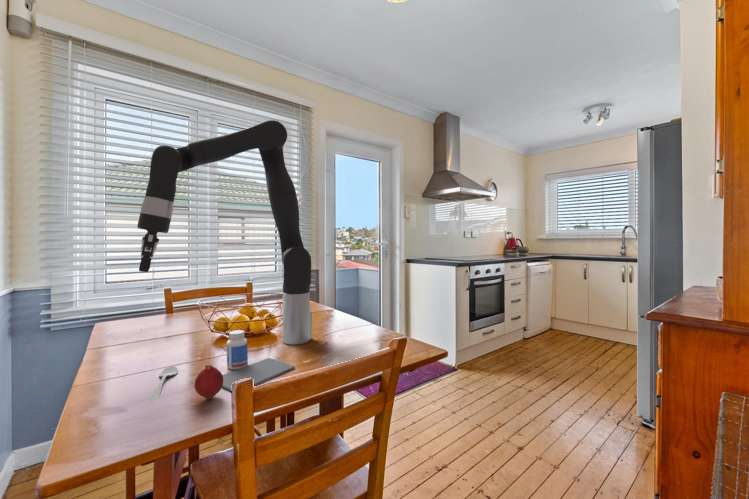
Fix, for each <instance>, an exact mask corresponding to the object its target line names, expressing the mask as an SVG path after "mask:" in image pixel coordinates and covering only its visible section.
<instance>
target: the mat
mask: <svg viewBox="0 0 749 499" xmlns="http://www.w3.org/2000/svg"><path fill="white" fill-rule="evenodd" d="M293 368H294V369H295V368H296V366H295V365H291V364H289V363H286V362H283V361H280V360H277V359H273V358H270V357H268V358H265V359H262V360H259V361H257V362H254V363H251V364H247V366H245V367H243V368H240V369H234V370H233V371H232V370H231V371H230V372H228V373H224V374H222V375H223V386H222V388H221V389H224V390H226V391H229V392H230V393H232V392H231V385H232V383H233V382H235V381H238V380H240V379H244V378H250V377H251V378H253V379H254V386H253V387H256V386H258V385H260V384H262V383H264V382H266V381H269V380H271V378H272V379H273V377H274V378H276V377H278V376H281V375H283V374H285V373H287V372H286V371H288V370H290V371H292V370H294V369H293ZM291 369H292V370H291ZM284 372H285V373H284ZM288 372H289V371H288ZM282 373H283V374H282ZM280 374H281V375H280ZM275 376H276V377H275ZM268 379H269V380H268Z"/></svg>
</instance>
